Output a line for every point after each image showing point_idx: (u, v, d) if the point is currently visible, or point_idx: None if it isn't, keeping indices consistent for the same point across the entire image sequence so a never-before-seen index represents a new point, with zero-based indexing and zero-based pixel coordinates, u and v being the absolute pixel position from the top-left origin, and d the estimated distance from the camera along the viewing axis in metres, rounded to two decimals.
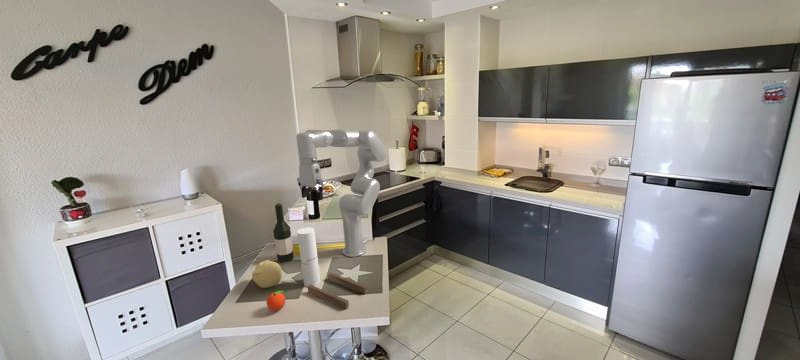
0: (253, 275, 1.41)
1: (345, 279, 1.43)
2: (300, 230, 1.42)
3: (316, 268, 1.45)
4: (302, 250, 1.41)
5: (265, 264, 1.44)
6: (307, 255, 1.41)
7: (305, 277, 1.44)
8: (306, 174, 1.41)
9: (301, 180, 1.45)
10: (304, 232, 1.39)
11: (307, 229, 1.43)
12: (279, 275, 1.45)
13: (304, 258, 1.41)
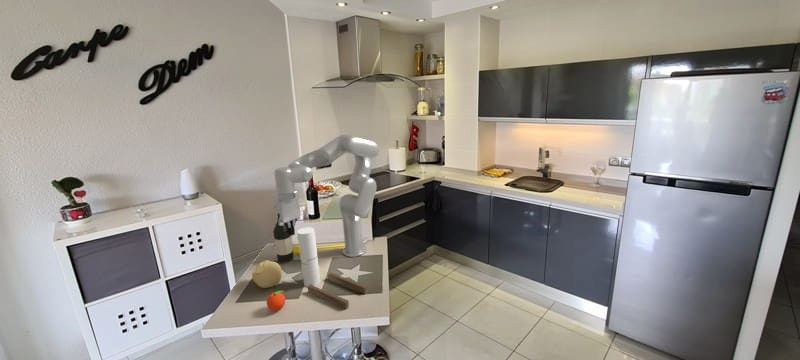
0: (253, 275, 1.41)
1: (345, 279, 1.43)
2: (300, 230, 1.42)
3: (316, 268, 1.45)
4: (302, 250, 1.41)
5: (265, 264, 1.44)
6: (307, 255, 1.41)
7: (305, 277, 1.44)
8: (293, 207, 1.44)
9: (285, 217, 1.42)
10: (304, 232, 1.39)
11: (307, 229, 1.43)
12: (279, 275, 1.45)
13: (304, 258, 1.41)
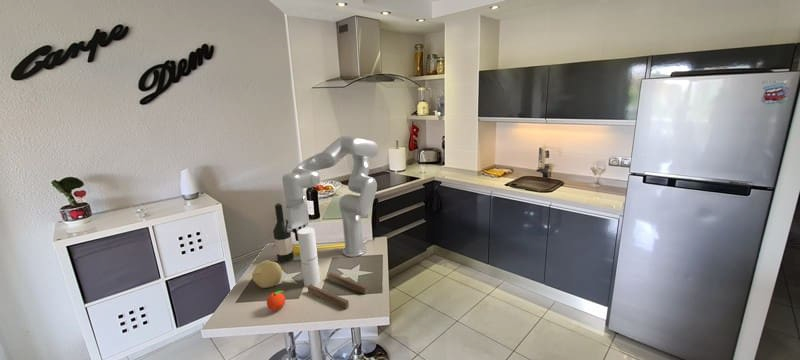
0: (253, 275, 1.41)
1: (345, 279, 1.43)
2: (300, 230, 1.42)
3: (316, 268, 1.45)
4: (302, 250, 1.41)
5: (265, 264, 1.44)
6: (307, 255, 1.41)
7: (305, 277, 1.44)
8: (301, 213, 1.42)
9: (294, 223, 1.40)
10: (305, 232, 1.39)
11: (307, 229, 1.43)
12: (279, 275, 1.45)
13: (304, 258, 1.41)
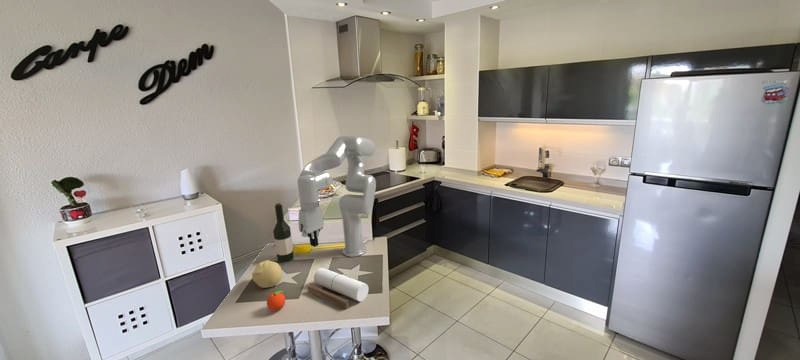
0: (253, 275, 1.41)
1: None
2: (362, 287, 1.32)
3: None
4: (342, 288, 1.34)
5: (265, 264, 1.44)
6: (338, 291, 1.35)
7: (320, 279, 1.41)
8: (316, 217, 1.37)
9: (309, 227, 1.34)
10: (359, 297, 1.31)
11: (364, 291, 1.33)
12: (279, 275, 1.45)
13: (336, 287, 1.36)
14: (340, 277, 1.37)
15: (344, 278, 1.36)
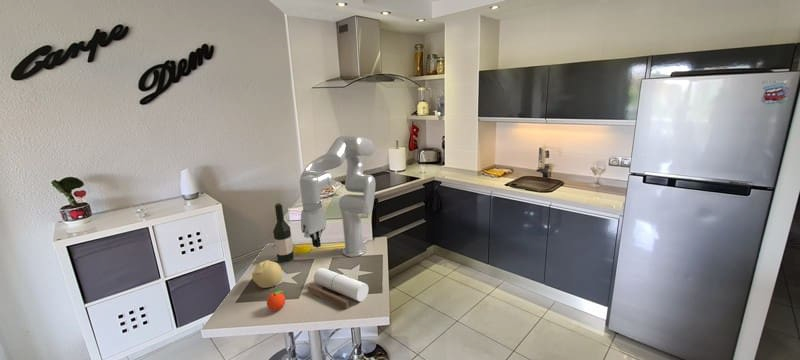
0: (253, 275, 1.41)
1: None
2: (362, 287, 1.32)
3: None
4: (342, 288, 1.34)
5: (265, 264, 1.44)
6: (338, 291, 1.35)
7: (320, 279, 1.41)
8: (319, 218, 1.36)
9: (311, 228, 1.34)
10: (359, 297, 1.31)
11: (364, 291, 1.33)
12: (279, 275, 1.45)
13: (336, 287, 1.36)
14: (340, 277, 1.37)
15: (344, 278, 1.36)
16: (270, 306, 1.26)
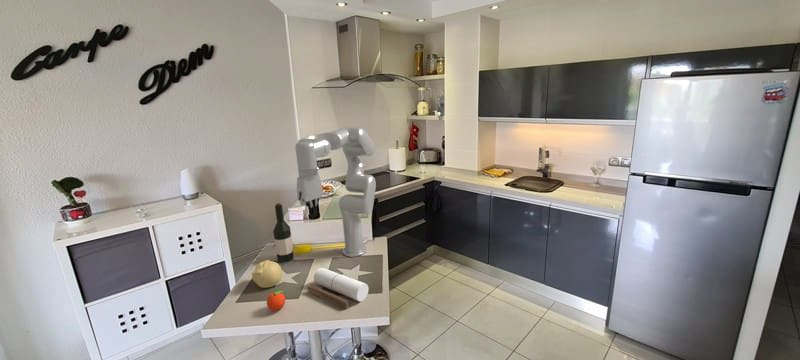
0: (253, 275, 1.41)
1: None
2: (362, 287, 1.32)
3: None
4: (342, 288, 1.34)
5: (265, 264, 1.44)
6: (338, 291, 1.35)
7: (320, 279, 1.41)
8: (315, 185, 1.33)
9: (307, 195, 1.30)
10: (359, 297, 1.31)
11: (364, 291, 1.33)
12: (279, 275, 1.45)
13: (336, 287, 1.36)
14: (340, 277, 1.37)
15: (344, 278, 1.36)
16: (270, 306, 1.26)
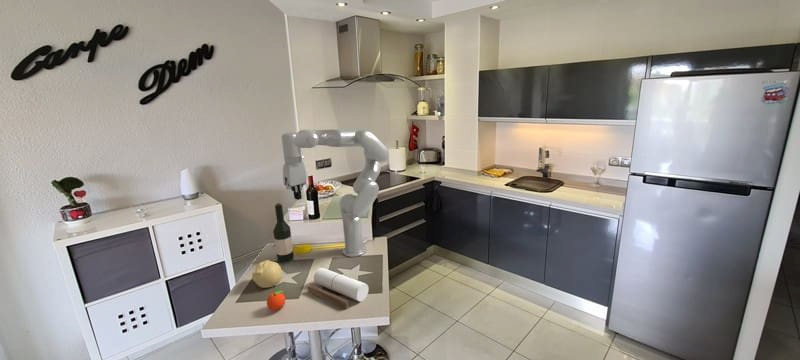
0: (253, 275, 1.41)
1: None
2: (362, 287, 1.32)
3: None
4: (342, 288, 1.34)
5: (265, 264, 1.44)
6: (338, 291, 1.35)
7: (320, 279, 1.41)
8: (299, 172, 1.49)
9: (292, 180, 1.46)
10: (359, 297, 1.31)
11: (364, 291, 1.33)
12: (279, 275, 1.45)
13: (336, 287, 1.36)
14: (340, 277, 1.37)
15: (344, 278, 1.36)
16: (270, 306, 1.26)
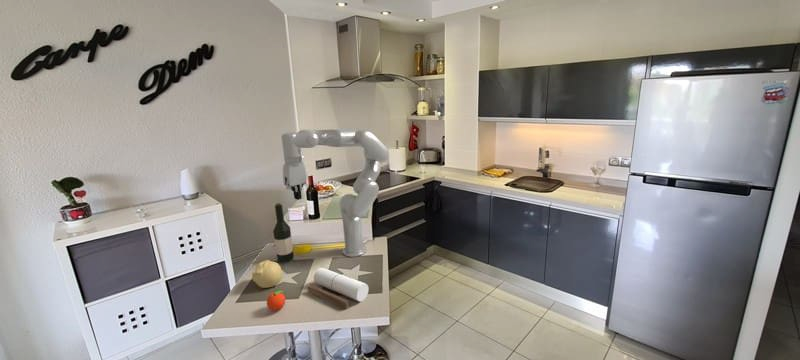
0: (253, 275, 1.41)
1: None
2: (362, 287, 1.32)
3: None
4: (342, 288, 1.34)
5: (265, 264, 1.44)
6: (338, 291, 1.35)
7: (320, 279, 1.41)
8: (299, 172, 1.49)
9: (292, 180, 1.46)
10: (359, 297, 1.31)
11: (364, 291, 1.33)
12: (279, 275, 1.45)
13: (336, 287, 1.36)
14: (340, 277, 1.37)
15: (344, 278, 1.36)
16: (270, 306, 1.26)
